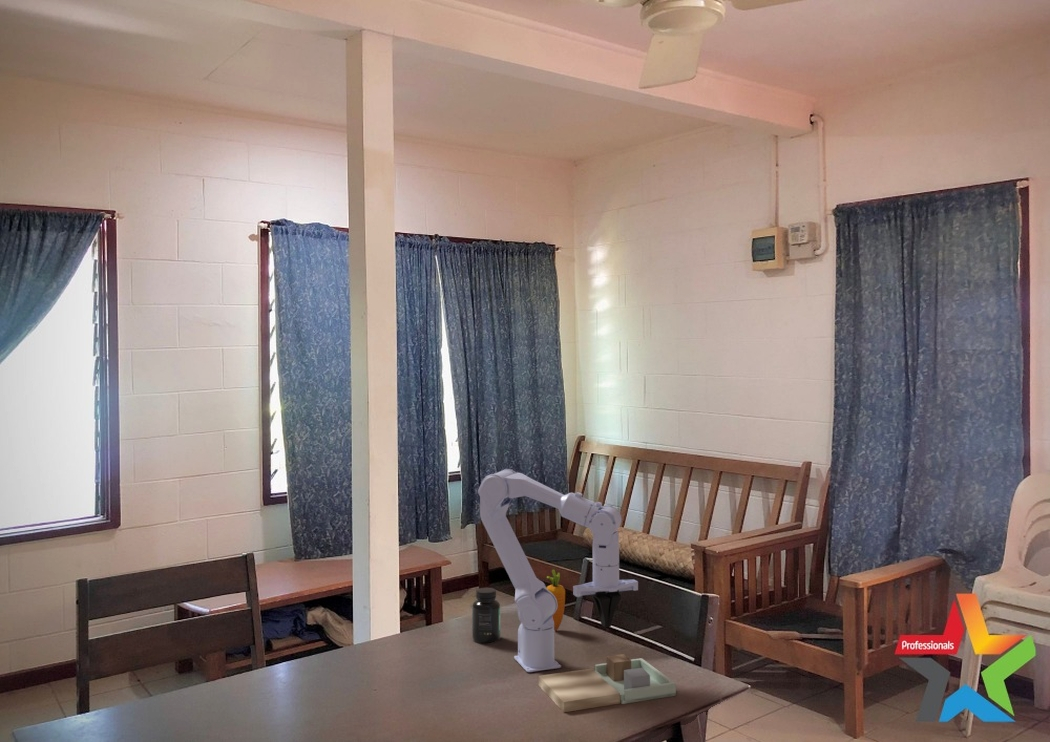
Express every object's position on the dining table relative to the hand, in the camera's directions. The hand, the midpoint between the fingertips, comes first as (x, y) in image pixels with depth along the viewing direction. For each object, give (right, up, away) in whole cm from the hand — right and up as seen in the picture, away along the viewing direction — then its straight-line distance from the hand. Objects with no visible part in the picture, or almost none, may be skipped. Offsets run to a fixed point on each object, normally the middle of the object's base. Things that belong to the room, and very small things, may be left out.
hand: (606, 625), depth 183 cm
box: (+5, -11, -7) cm, 13 cm away
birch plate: (-7, -11, -11) cm, 16 cm away
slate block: (+3, -8, -12) cm, 15 cm away
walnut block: (0, -8, -4) cm, 9 cm away
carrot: (-10, -10, +29) cm, 32 cm away
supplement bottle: (-27, -10, +23) cm, 37 cm away
